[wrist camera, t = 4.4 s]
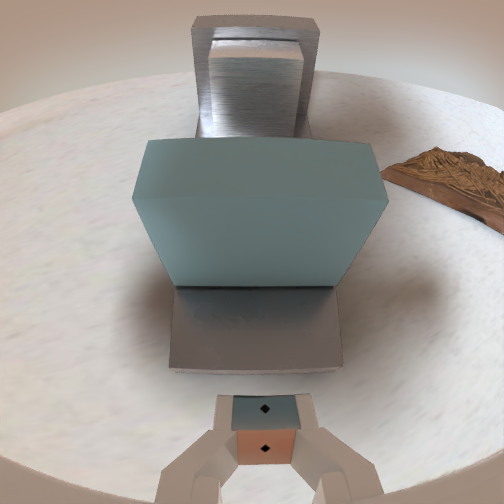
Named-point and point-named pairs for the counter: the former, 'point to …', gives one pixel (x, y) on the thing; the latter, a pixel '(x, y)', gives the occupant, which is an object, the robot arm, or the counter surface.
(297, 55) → the steel block
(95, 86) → the counter surface
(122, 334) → the counter surface
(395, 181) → the wooden fragment
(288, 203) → the slide jaw
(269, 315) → the vise bed
